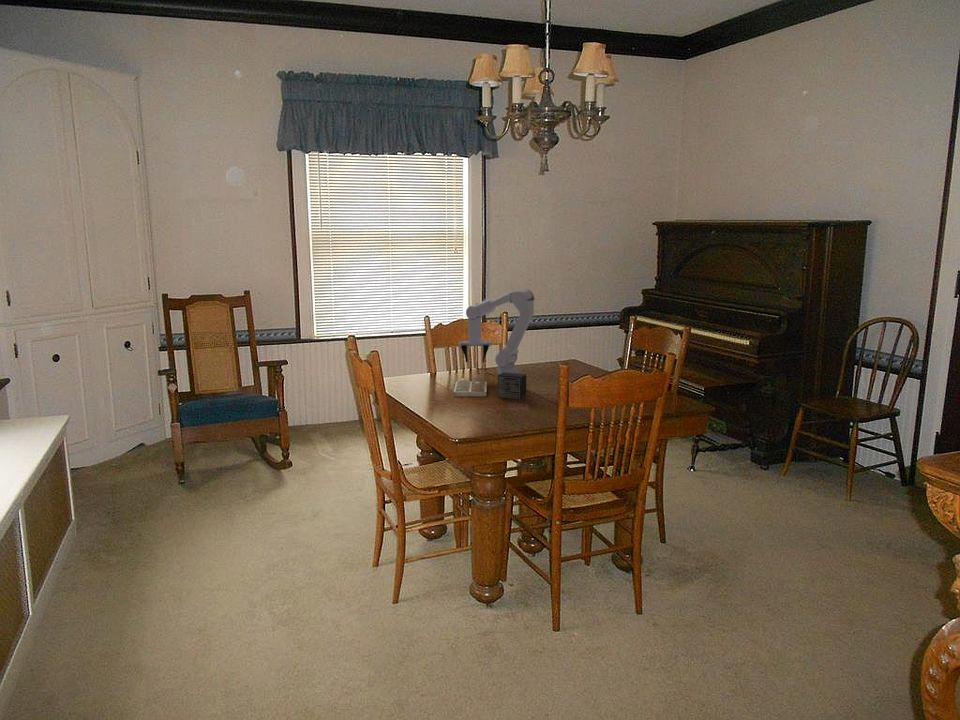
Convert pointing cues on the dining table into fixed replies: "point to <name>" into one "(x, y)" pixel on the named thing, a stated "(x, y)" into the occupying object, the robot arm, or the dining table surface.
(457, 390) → the grey divided tray
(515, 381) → the small box
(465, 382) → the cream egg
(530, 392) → the dining table surface
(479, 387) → the tan egg
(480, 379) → the tan egg
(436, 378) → the dining table surface
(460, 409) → the dining table surface
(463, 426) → the dining table surface
